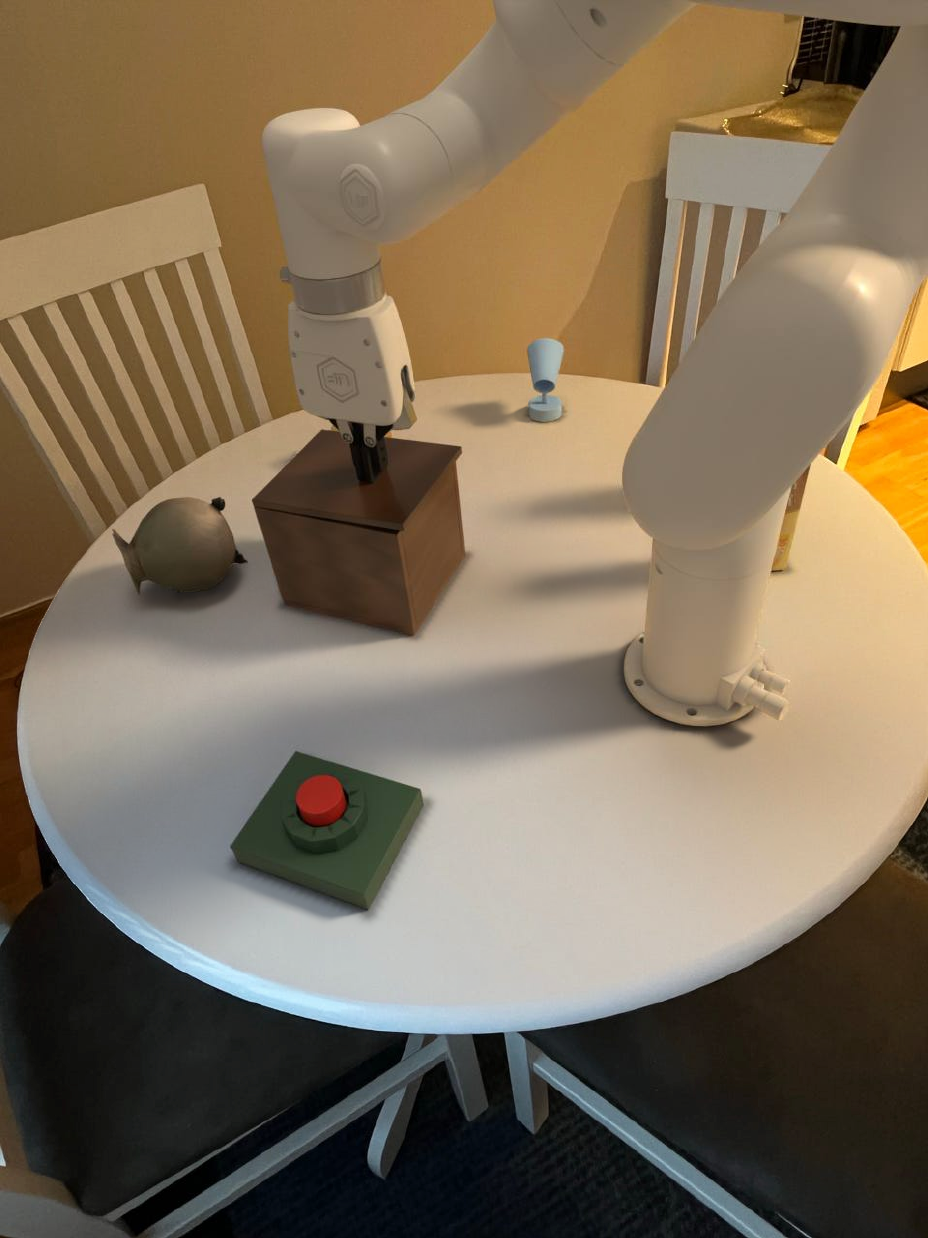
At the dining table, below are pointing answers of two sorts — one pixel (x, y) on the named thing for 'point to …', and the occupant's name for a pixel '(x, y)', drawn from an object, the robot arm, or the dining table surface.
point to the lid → (359, 482)
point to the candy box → (790, 522)
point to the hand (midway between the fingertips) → (372, 473)
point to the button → (321, 800)
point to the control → (330, 831)
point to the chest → (368, 561)
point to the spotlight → (545, 378)
